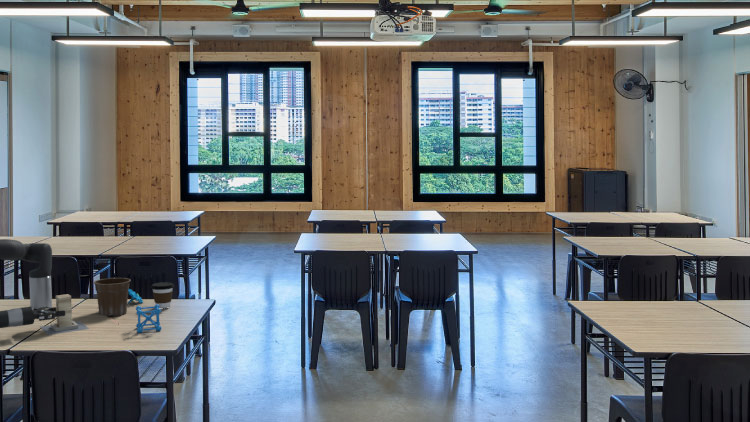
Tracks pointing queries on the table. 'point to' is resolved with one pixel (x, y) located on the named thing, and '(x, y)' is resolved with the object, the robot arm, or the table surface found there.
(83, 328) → the puzzle board
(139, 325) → the molecular structure
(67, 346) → the table surface
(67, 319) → the maple block
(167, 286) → the coffee cup
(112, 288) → the plant pot
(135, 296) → the gear
